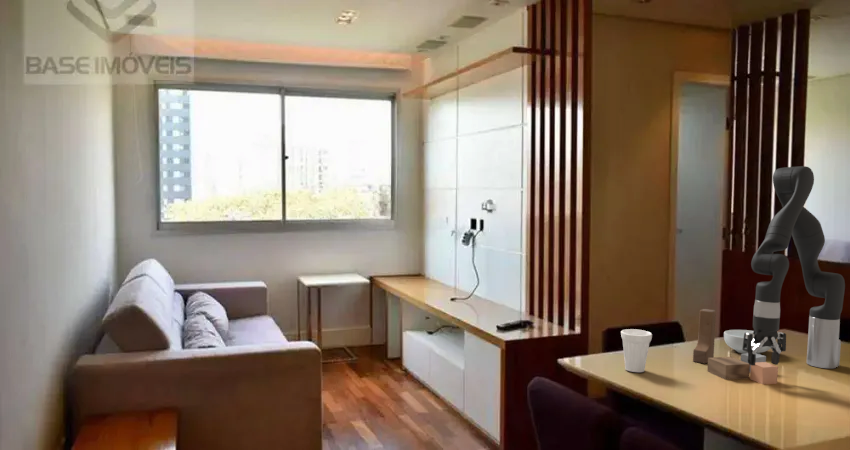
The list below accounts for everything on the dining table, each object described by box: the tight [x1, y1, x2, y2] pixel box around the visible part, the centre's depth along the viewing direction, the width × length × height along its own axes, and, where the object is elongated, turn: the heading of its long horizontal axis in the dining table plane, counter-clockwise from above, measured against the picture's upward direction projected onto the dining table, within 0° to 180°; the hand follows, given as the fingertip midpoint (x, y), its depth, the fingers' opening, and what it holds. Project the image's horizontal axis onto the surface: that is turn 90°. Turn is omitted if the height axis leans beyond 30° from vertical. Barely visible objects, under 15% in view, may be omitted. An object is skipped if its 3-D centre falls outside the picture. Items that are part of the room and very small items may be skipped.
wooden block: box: [692, 308, 717, 365], centre depth 232 cm, size 9×4×18 cm, turn 139°
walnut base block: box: [706, 356, 750, 380], centre depth 216 cm, size 9×9×5 cm
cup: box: [620, 328, 653, 373], centre depth 218 cm, size 10×10×13 cm
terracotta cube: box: [749, 361, 779, 385], centre depth 209 cm, size 6×6×6 cm
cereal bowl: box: [723, 329, 771, 355], centre depth 246 cm, size 17×17×7 cm
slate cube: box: [740, 353, 767, 373], centre depth 221 cm, size 6×6×6 cm
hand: (763, 364), depth 209 cm, fingers open, 8 cm apart
